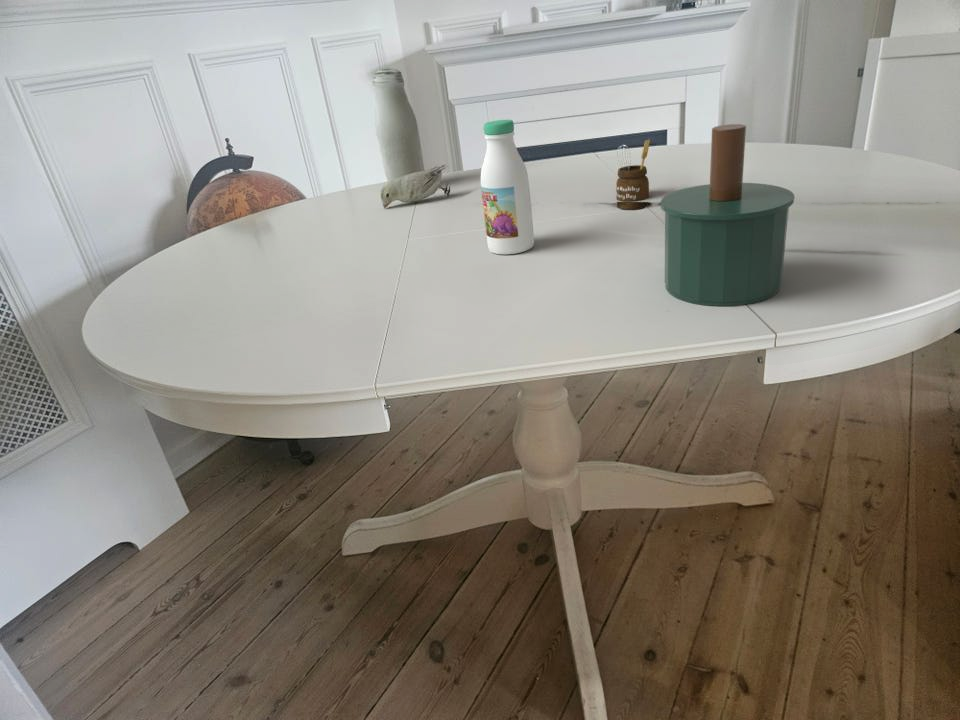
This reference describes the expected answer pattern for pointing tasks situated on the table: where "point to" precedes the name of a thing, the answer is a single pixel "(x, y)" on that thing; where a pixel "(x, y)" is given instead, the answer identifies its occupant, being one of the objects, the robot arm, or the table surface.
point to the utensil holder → (633, 183)
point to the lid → (727, 185)
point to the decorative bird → (413, 186)
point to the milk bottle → (505, 192)
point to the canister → (725, 258)
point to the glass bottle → (396, 126)
